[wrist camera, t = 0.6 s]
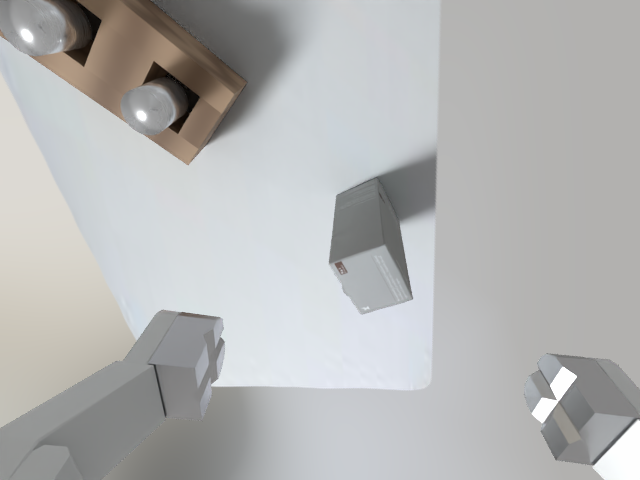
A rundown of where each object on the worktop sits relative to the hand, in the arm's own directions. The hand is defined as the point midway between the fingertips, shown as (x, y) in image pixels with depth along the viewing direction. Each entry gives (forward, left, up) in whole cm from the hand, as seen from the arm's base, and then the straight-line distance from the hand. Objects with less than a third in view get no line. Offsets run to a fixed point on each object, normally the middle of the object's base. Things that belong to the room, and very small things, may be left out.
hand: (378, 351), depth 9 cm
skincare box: (+17, +1, -36) cm, 40 cm away
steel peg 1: (-10, -25, -31) cm, 41 cm away
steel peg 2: (-2, -18, -31) cm, 36 cm away
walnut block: (-6, -21, -36) cm, 42 cm away
